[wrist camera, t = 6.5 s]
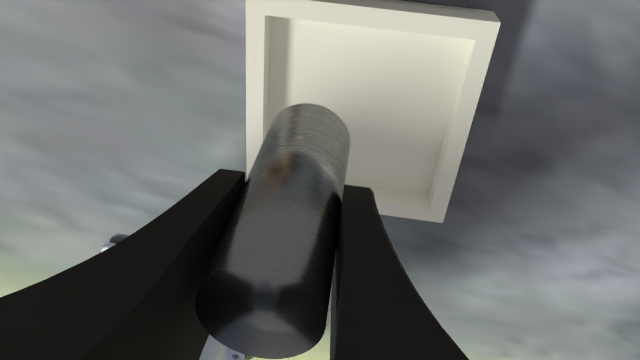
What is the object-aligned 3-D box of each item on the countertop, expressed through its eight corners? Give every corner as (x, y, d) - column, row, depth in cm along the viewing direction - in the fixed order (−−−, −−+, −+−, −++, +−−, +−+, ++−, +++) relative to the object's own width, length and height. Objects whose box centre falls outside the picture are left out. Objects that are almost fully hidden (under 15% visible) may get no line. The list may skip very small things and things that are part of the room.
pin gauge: (349, 177, 15) (326, 364, 9) (271, 173, 15) (204, 353, 10) (351, 104, 13) (325, 273, 8) (265, 101, 14) (184, 263, 8)
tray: (440, 203, 23) (442, 223, 22) (254, 178, 24) (246, 195, 22) (493, 11, 18) (500, 22, 17) (255, -17, 19) (245, -7, 17)
